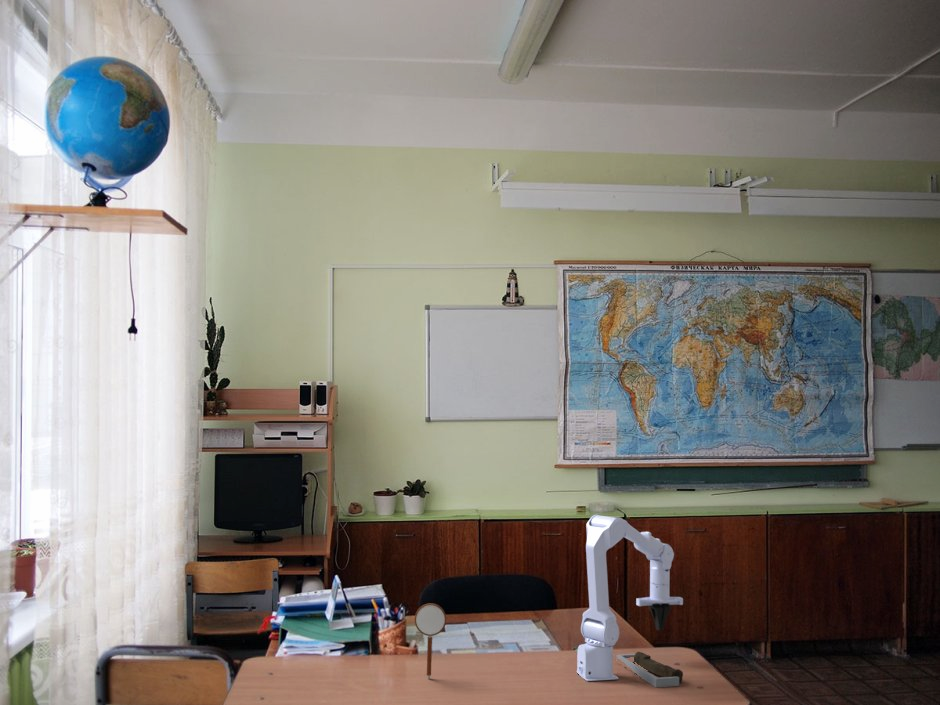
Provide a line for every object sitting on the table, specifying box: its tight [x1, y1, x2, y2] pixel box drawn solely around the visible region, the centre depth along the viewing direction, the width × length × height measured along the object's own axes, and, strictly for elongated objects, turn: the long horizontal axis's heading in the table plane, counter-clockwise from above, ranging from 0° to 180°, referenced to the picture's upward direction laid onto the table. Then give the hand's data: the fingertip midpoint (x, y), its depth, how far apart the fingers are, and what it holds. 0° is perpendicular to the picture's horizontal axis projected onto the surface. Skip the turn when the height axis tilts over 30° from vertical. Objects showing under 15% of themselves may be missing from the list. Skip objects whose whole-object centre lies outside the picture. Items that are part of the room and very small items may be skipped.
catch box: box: [616, 653, 680, 688], centre depth 234 cm, size 7×24×2 cm, turn 15°
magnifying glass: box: [414, 602, 447, 680], centre depth 225 cm, size 9×2×20 cm, turn 89°
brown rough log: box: [634, 651, 684, 684], centre depth 234 cm, size 19×4×5 cm, turn 24°
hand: (659, 629), depth 247 cm, fingers closed
